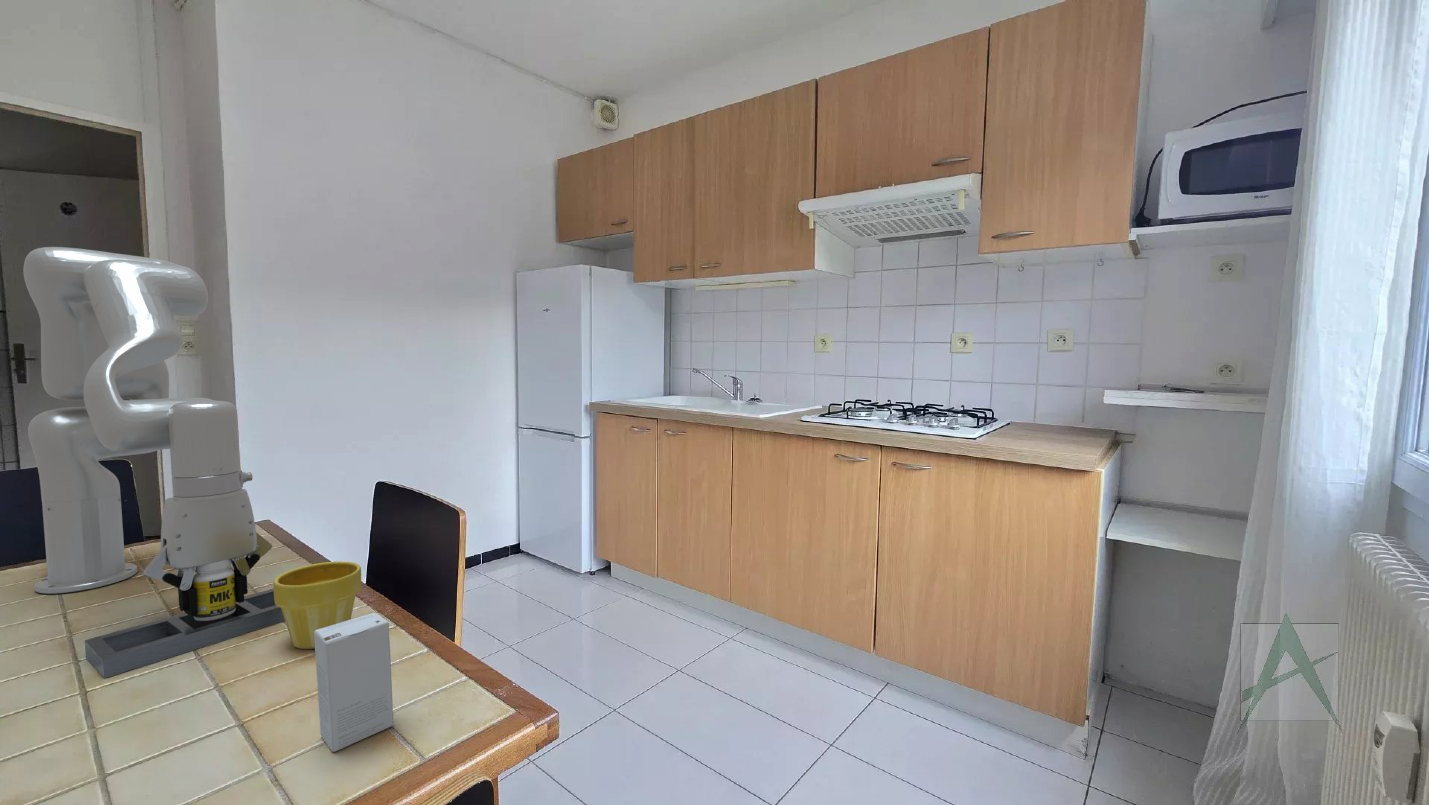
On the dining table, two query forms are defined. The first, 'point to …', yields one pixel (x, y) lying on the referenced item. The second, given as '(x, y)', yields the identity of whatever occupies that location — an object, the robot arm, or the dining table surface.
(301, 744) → the dining table surface
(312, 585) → the plant pot
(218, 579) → the supplement bottle
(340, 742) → the skincare box
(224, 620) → the grey long slotted tray
